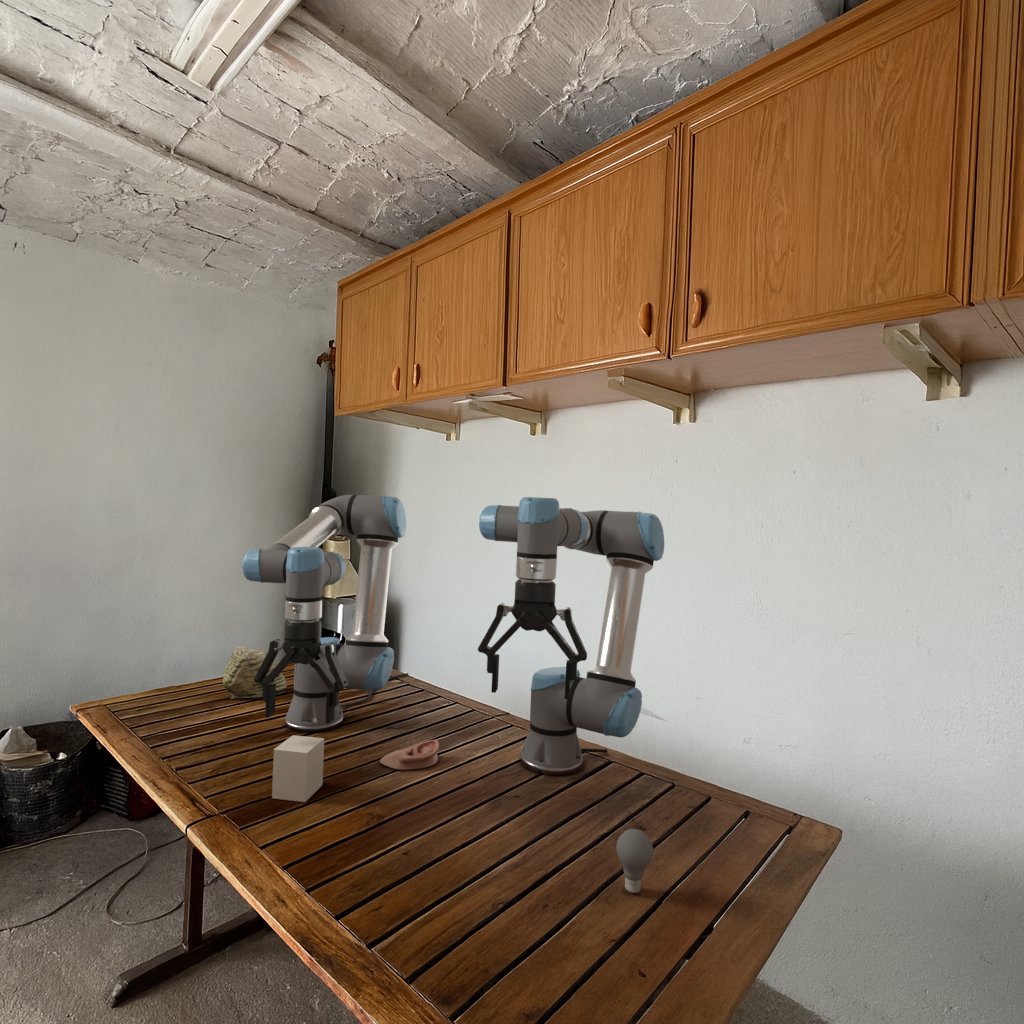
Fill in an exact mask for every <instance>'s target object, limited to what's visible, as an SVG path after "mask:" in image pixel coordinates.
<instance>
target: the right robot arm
mask: <svg viewBox="0 0 1024 1024" xmlns="http://www.w3.org/2000/svg"><path fill="white" fill-rule="evenodd" d="M478 528H479V532H480V535H481V536H482V537H483V538H484V539H486V540H488V541H494V542H503V543H504V542H506V543H516V546H517V547H516V561H515V563H516V564H515V577H516V578H517V580H516V581H515V583H514V602H513V605H510V604H506V603H505V602H500V603H499V604H498V605H497V607H496V612H495V617H494V618H493V620H492V622H491V624H490V626H489V628H488V629H487V630H486V633H485V635H484V636H483V638H482V640H481V641H480V643H479V646H478V647H477V651H478V652H479V653H482V654H484V655H485V656H486V672H487V674H491V690H490V691H491V693H493V694H496V692H497V691H498V689H499V675H500V674H499V673H500V671H499V670H500V654H497V652H498V651H499V650H500V649H501V648H502V647H503V645H504V644H505V643H506V642H508V640H509V639H510V638H511V637H512V636H513V635H514V634H515V633H516V632H517V631H518V630H519V629H520V628H521V629H523V630H524V631H535V632H542V631H546V632H547V634H548V635H550V637H551V638H552V639H553V640H554V642H555V643H556V644H557V646H558V647H559V648H560V649H561V651H562V652H563V654H564V655H565V656H566V658H567V660H566V662H565V666H551V667H546V668H542V669H539V670H537V671H536V672H534V673H533V674H532V678H531V686H530V709H529V711H530V712H529V730H528V733H527V735H526V739H525V741H524V742H523V744H522V747H521V752H520V763H521V764H522V766H523V767H525V768H526V769H528V770H529V771H532V772H535V773H538V774H542V775H547V776H548V775H549V776H565V775H570V774H574V773H576V772H578V771H580V770H581V769H582V767H583V763H584V756H583V753H599V754H601V753H602V754H608V753H609V752H608V749H607V748H586V747H583V748H582V747H581V745H580V744H581V743H580V741H579V737H578V733H577V732H578V729H581V730H586V731H589V732H593V733H594V732H595V733H597V734H601V735H604V736H606V737H609V736H610V737H614V738H625V737H627V736H628V735H630V734H631V733H632V732H633V730H634V728H635V727H636V725H637V723H638V721H639V717H640V714H641V710H642V705H643V700H642V699H643V694H642V691H641V690H640V689H639V688H638V687H636V684H637V679H636V677H634V674H632V665H633V659H634V652H635V647H636V641H637V633H638V628H639V627H638V626H639V620H640V613H641V607H642V601H643V592H644V587H645V579H646V575H647V574H648V573H649V572H650V571H652V570H653V568H654V562H657V561H660V560H661V559H662V558H663V555H664V553H665V533H664V528H663V525H662V521H661V520H660V518H659V517H658V516H657V515H656V514H654V513H652V512H642V511H623V510H622V511H620V510H605V509H603V510H587V511H580V510H578V509H575V508H571V507H564V508H560V502H559V500H558V499H557V498H556V497H541V496H540V497H539V496H537V497H535V496H524V497H522V498H520V500H519V503H518V506H516V505H502V504H497V505H496V504H495V505H493V504H492V505H491V504H490V505H486V506H485V507H484V508H483V509H482V510H481V512H480V515H479V522H478ZM558 547H563V548H566V549H567V550H568V549H569V550H575V551H581V552H584V553H588V554H593V555H597V556H605V562H606V563H607V565H608V566H609V568H610V570H609V575H608V583H607V590H606V595H605V601H604V607H603V613H602V620H601V624H600V625H601V626H600V631H599V637H598V638H599V639H598V642H597V643H598V645H597V650H596V651H597V652H596V657H595V663H594V665H593V666H592V667H590V668H589V669H588V670H587V672H586V677H581V673H580V670H579V669H578V664H579V662H586V661H587V659H588V652H587V650H586V648H585V645H584V643H583V641H582V638H581V636H580V634H579V632H578V630H577V627H576V625H575V622H574V620H573V613H572V607H569V606H567V607H565V608H557V607H556V588H557V587H556V586H557V585H556V583H555V580H556V579H557V568H558V567H557V565H558ZM509 613H511V614H512V616H513V617H514V619H515V622H513V623H512V624H511V626H510V627H509V628H508V629H507V630H506V631H505V632H504V633H503V634H502V635H501V637H499V638H498V639H497V641H496V642H495V643H494V644H493V645H492V646H489V644H490V642H491V640H492V638H493V637H494V635H495V634H496V631H497V629H498V628H499V626H500V624H501V622H502V620H503V619H504V617H507V616H508V614H509ZM557 616H558V617H559V618H560V620H561V621H563V622H564V623H565V627H566V629H567V632H568V634H569V636H570V638H571V640H572V642H573V646H574V647H575V649H576V651H577V653H576V652H575V651H574V650H573V648H572V647H571V645H570V644H569V643H568V641H567V640H566V639H565V637H564V636H563V635H562V634H561V632H560V631H559V630H558V628H557V626H556V625H555V623H554V622H553V621H554V619H555V618H556V617H557Z"/></svg>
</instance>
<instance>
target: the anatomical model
mask: <svg viewBox="0 0 1024 1024" xmlns="http://www.w3.org/2000/svg"><path fill="white" fill-rule="evenodd" d="M439 748H440V743H439V741H438V740H437V739H431V740H430V739H429V740H426V741H423V742H419V743H416V744H414V745H412V746H409V747H406V748H403V749H400V750H399V749H398V750H395V751H392V752H390V753H388V754H386V755H384V756H383V757H382V758H380V760H379V763H380V764H382V765H384V766H385V767H388V768H390V769H394V770H399V771H400V770H401V771H403V770H404V771H405V770H419V769H424V768H428V767H431V766H433V765H435V764H437V763H438V760H439V756H438V754H437V753H438V752H439Z"/></svg>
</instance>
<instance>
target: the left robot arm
mask: <svg viewBox="0 0 1024 1024" xmlns="http://www.w3.org/2000/svg"><path fill="white" fill-rule="evenodd" d="M406 515H407V514H406V510H405V505H404V504H403V501H402V500H401V499H400V498H398V497H396V496H390V495H370V494H369V495H368V494H366V495H365V494H343V495H340V496H336V497H334V498H331V499H328V500H327V501H324V502H322V503H321V504H319V505H317V506H316V507H314V508H313V509H312V510H311V512H310V513H309V515H308V518H306V519H305V520H304V521H302V522H301V523H300V524H298V525H297V526H296V527H294V528H293V529H291V530H290V531H289V532H287V533H286V534H284V536H282V537H281V538H279V539H278V540H276V541H275V542H274V543H273V544H271V545H270V546H268V547H267V548H265V549H264V548H263V549H262V548H257V549H255V548H253V549H249V550H248V551H247V552H246V553H245V554H244V557H243V559H242V563H241V565H242V567H241V568H242V574H243V576H244V578H245V579H246V580H248V581H249V582H258V583H261V584H264V583H268V584H269V583H270V584H285V600H284V601H285V604H284V605H285V606H284V618H285V621H284V626H283V632H284V633H283V638H284V640H281V639H280V638H276V639H274V640H273V639H272V640H271V641H270V642H269V647H268V650H267V653H266V654H267V655H266V657H265V659H264V661H263V663H262V665H261V667H260V668H259V670H258V672H257V674H256V676H255V678H254V681H255V682H256V683H257V682H259V683H261V684H262V686H263V695H262V697H261V698H262V701H265V713H264V715H265V716H264V717H265V718H268V719H269V718H270V717H272V716H274V715H275V714H276V698H277V697H276V696H277V694H276V684H271V683H272V682H274V680H275V679H276V677H277V676H278V675H279V674H280V673H282V672H283V671H284V670H285V669H286V668H287V667H288V665H289V664H290V663H292V664H294V670H293V671H294V672H293V695H292V696H293V697H292V699H291V702H290V704H289V708H288V711H287V713H286V715H285V726H286V728H287V729H289V730H291V731H294V732H295V731H296V732H301V733H316V732H325V731H329V730H332V729H335V728H337V727H339V726H340V725H342V723H343V722H344V714H343V709H342V708H346V707H350V706H353V705H359V704H362V703H365V702H366V701H368V700H370V699H371V697H372V694H373V692H374V691H380V690H382V689H383V688H384V687H385V686H386V685H387V684H388V681H390V680H394V679H397V678H401V677H407V676H409V672H406V673H402V674H397V675H393V676H391V675H392V671H393V668H394V662H395V652H394V649H393V648H391V647H390V646H389V639H388V638H387V637H386V636H385V633H384V632H385V624H386V614H387V601H388V593H389V592H388V591H389V581H390V573H391V562H392V553H393V552H392V551H393V550H394V548H395V547H396V546H398V545H399V539H402V538H403V537H404V536H405V535H406V531H407V516H406ZM341 535H345V536H346V535H348V536H349V535H350V536H356V539H355V540H356V542H357V543H358V545H359V546H360V556H359V565H358V572H357V573H358V575H357V584H356V594H355V602H354V612H353V613H354V614H353V623H352V632H351V634H349V635H348V636H347V637H346V638H345V644H341V641H340V639H339V638H338V637H334V636H325V637H322V624H323V623H322V620H321V618H322V617H323V594H324V593H323V591H324V587H327V586H332V585H335V584H336V583H337V582H340V581H341V580H342V579H343V578H344V576H345V574H346V571H347V564H346V560H345V559H344V557H343V556H342V555H341V554H339V553H338V552H335V551H327V550H326V551H324V550H323V549H322V548H321V547H320V546H321V545H322V544H323V543H325V542H326V541H327V540H330V539H334V538H336V537H337V536H341ZM282 649H283V652H284V653H285V655H284V656H283V657H282V658H281V659H280V661H279V662H278V663H277V665H276V667H275V668H274V669H273V670H272V671H271V672H270V674H269V675H268V676H267V677H266V675H267V673H268V671H269V669H270V667H271V665H272V664H273V662H274V663H275V660H276V657H277V656H278V654H279V652H280V651H281V650H282ZM345 689H350V690H360V691H361V690H362V691H363V690H364V691H366V692H367V691H369V693H368V696H367V697H366V698H363V699H360V700H357V701H353V702H349V703H344V704H341V702H340V691H343V690H345Z"/></svg>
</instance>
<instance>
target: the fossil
mask: <svg viewBox="0 0 1024 1024" xmlns="http://www.w3.org/2000/svg"><path fill="white" fill-rule="evenodd" d="M266 655H267V653H266V652H265V650H264V649H263V648H260V647H258V648H251V647H247V646H246V647H245V646H238V647H237V648H236V649H235V650H233V651H232V653H231V656H230V657H229V659H228V660H227V663H226V666H225V668H224V671H223V675H222V676H223V677H222V685H223V687H224V688H225V690H226V691H228V693H229V698H230V699H250V698H262V695H263V686H262V684H261V683H259V682H257V683H256V682H255V681H254V678H255V676H256V674H257V672H258V670H259V668H260V667H261V665H262V663H263V661H264V659H265V657H266ZM276 666H277V665H276V663H275V661H274V662H273V664H272V665H271V667H270V669H269V671H268V673H267V675H266V677H267V676H268V675H269V674H270V672H271V671H272V670H273V669H274V668H275V667H276ZM271 684H276V695H281V694H284V693H285V691H286V689H287V687H288V686H287V680H286V678H285V676H284V674H283V673H282V672H281V673H280V674H279V675H278V676H277V677H276V679H275V680H274V682H272V683H271Z"/></svg>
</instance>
